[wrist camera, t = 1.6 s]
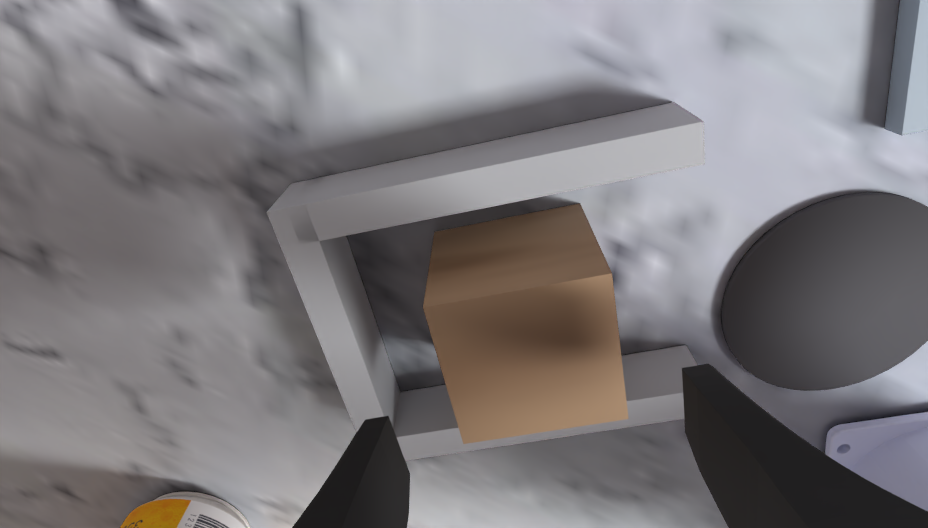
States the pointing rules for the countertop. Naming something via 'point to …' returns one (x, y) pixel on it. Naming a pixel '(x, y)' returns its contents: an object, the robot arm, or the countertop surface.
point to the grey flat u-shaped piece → (451, 192)
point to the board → (909, 71)
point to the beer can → (186, 513)
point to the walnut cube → (525, 325)
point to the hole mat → (832, 293)
